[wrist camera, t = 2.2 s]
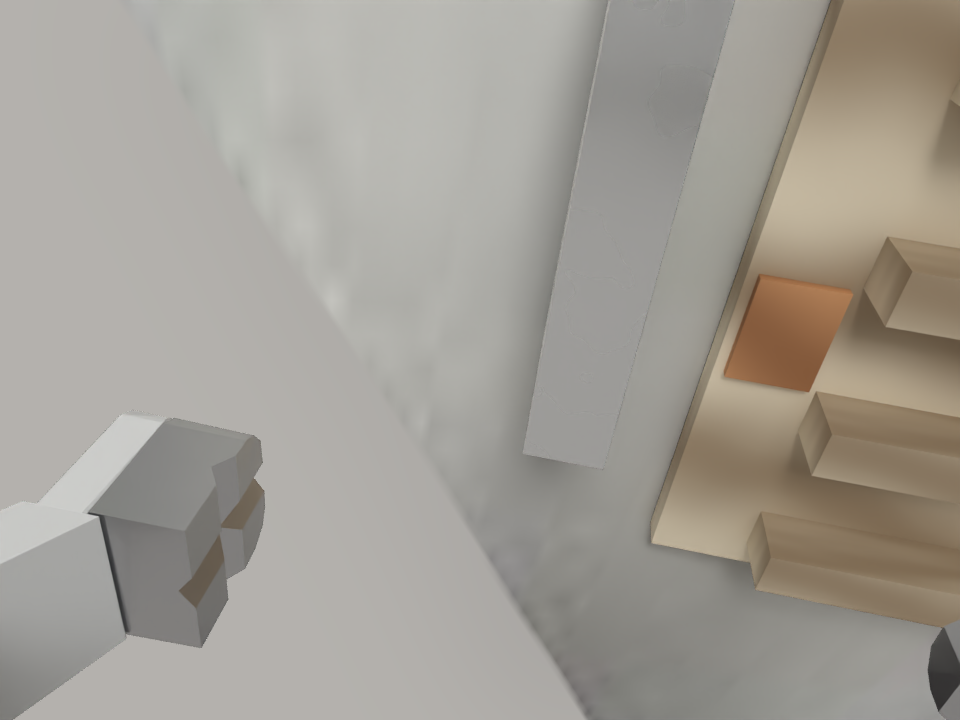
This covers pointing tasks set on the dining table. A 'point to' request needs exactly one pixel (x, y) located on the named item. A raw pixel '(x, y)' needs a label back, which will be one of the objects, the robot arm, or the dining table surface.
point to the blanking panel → (620, 215)
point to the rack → (843, 338)
